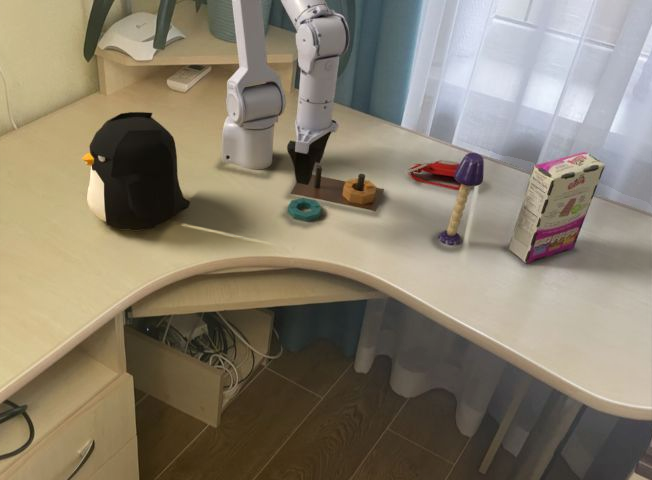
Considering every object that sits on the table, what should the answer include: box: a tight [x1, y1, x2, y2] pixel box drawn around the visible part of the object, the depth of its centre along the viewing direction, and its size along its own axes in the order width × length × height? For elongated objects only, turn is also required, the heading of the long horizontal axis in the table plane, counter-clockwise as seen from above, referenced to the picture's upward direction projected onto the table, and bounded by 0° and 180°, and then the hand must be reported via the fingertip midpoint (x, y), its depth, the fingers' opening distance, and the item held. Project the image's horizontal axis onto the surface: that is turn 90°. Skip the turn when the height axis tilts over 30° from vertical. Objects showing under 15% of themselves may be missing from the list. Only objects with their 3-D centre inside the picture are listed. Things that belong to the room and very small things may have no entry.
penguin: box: [81, 111, 191, 232], centre depth 125 cm, size 18×18×17 cm
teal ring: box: [286, 197, 323, 223], centre depth 132 cm, size 6×6×2 cm
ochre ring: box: [343, 177, 378, 204], centre depth 137 cm, size 6×6×2 cm
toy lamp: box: [437, 152, 485, 246], centre depth 123 cm, size 5×5×17 cm
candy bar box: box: [507, 151, 606, 264], centre depth 123 cm, size 11×5×16 cm, turn 118°
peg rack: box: [290, 164, 385, 212], centre depth 137 cm, size 16×8×5 cm, turn 73°
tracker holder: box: [407, 160, 461, 191], centre depth 143 cm, size 12×4×10 cm
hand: (308, 171), depth 128 cm, fingers open, 7 cm apart
